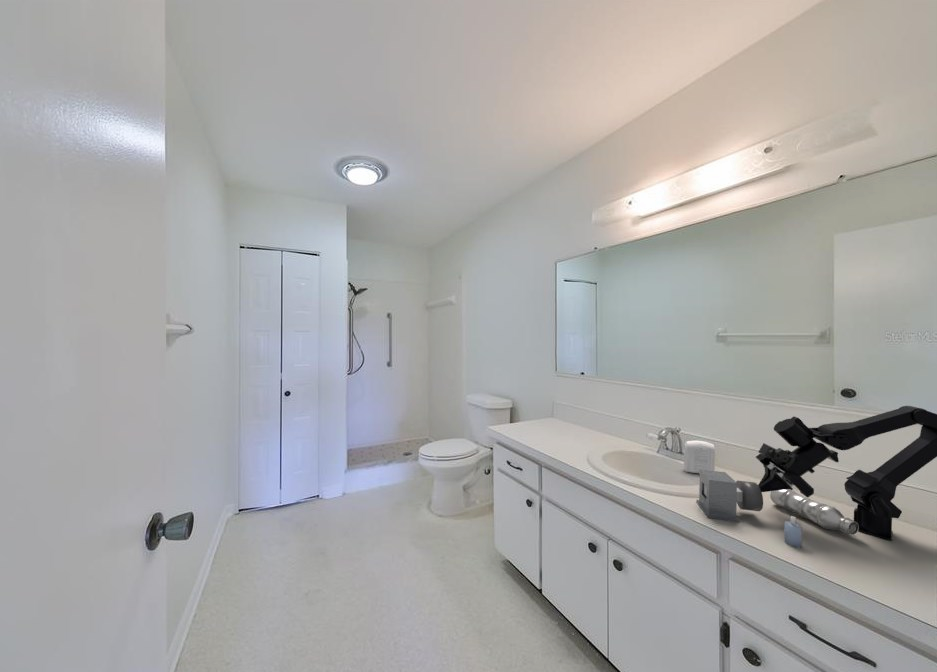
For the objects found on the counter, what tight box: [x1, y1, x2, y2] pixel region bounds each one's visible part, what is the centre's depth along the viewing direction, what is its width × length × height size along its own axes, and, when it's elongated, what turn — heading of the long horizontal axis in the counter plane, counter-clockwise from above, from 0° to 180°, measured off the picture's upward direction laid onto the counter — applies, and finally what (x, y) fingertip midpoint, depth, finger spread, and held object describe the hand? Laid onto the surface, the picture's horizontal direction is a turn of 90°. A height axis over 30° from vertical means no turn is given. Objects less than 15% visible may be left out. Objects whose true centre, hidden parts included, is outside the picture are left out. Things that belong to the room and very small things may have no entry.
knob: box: [704, 480, 764, 512], centre depth 106 cm, size 13×8×8 cm, turn 74°
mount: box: [696, 470, 741, 523], centre depth 107 cm, size 8×10×11 cm
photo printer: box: [683, 439, 716, 474], centre depth 137 cm, size 10×4×12 cm, turn 72°
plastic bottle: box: [769, 489, 859, 536], centre depth 103 cm, size 6×7×20 cm
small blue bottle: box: [783, 515, 803, 548], centre depth 91 cm, size 3×3×7 cm
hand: (757, 490), depth 104 cm, fingers closed, pressing on knob
